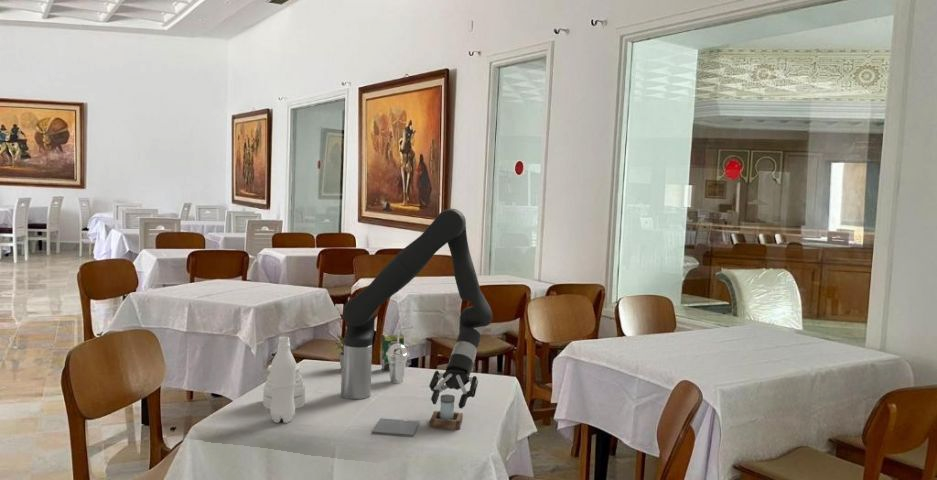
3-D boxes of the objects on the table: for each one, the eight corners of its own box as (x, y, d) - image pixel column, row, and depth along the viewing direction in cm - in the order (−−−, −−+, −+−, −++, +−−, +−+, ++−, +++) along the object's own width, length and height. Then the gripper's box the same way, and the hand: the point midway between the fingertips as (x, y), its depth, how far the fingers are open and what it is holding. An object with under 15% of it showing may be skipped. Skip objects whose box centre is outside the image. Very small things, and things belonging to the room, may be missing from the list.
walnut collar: (429, 427, 228) (430, 419, 228) (434, 418, 237) (434, 410, 236) (459, 429, 227) (459, 421, 227) (462, 420, 236) (462, 412, 236)
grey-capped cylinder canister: (438, 425, 230) (439, 398, 229) (440, 421, 234) (441, 394, 233) (452, 426, 230) (453, 399, 229) (454, 422, 234) (455, 395, 233)
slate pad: (371, 433, 221) (371, 431, 221) (380, 420, 233) (380, 418, 233) (412, 436, 220) (413, 434, 220) (419, 423, 232) (419, 421, 232)
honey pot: (255, 402, 244) (256, 346, 243) (289, 395, 254) (291, 341, 252) (278, 412, 236) (279, 354, 234) (312, 404, 245) (314, 348, 244)
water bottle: (288, 425, 224) (290, 341, 222) (265, 423, 226) (267, 339, 223) (298, 418, 231) (300, 336, 229) (276, 415, 233) (278, 334, 230)
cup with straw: (388, 377, 281) (389, 323, 279) (412, 379, 279) (414, 325, 277) (382, 383, 272) (384, 327, 270) (407, 385, 271) (409, 329, 269)
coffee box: (383, 371, 289) (384, 336, 288) (380, 369, 292) (382, 335, 290) (403, 369, 292) (404, 335, 291) (401, 367, 295) (402, 334, 294)
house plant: (323, 365, 293) (324, 322, 292) (358, 363, 299) (360, 321, 297) (331, 375, 280) (333, 330, 279) (368, 372, 286) (370, 329, 284)
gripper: (438, 350, 240) (421, 395, 231) (481, 355, 235) (466, 402, 226) (443, 363, 246) (428, 408, 236) (486, 368, 241) (471, 414, 231)
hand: (446, 405), depth 231 cm, fingers open, 8 cm apart
